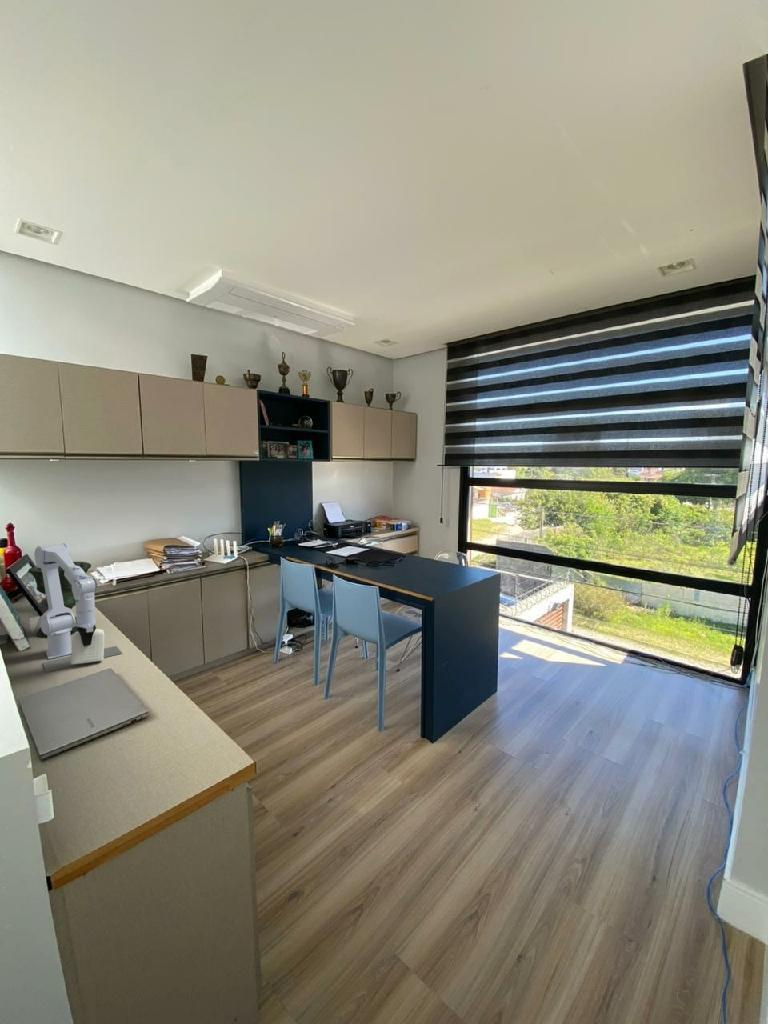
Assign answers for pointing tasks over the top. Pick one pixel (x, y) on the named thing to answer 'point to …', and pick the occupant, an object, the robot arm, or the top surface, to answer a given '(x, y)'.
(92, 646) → the photo printer
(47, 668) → the mat
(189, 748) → the top surface
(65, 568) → the robot arm
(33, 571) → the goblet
